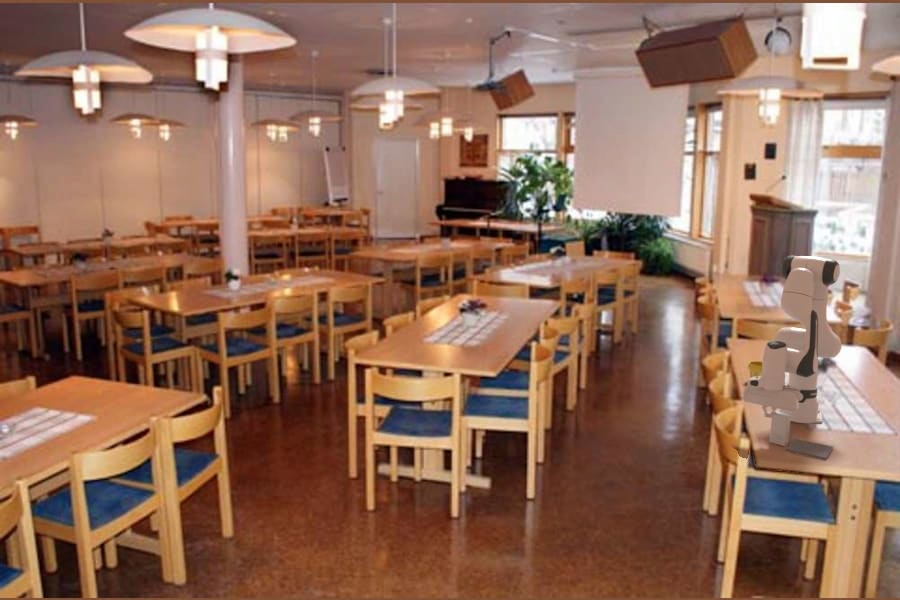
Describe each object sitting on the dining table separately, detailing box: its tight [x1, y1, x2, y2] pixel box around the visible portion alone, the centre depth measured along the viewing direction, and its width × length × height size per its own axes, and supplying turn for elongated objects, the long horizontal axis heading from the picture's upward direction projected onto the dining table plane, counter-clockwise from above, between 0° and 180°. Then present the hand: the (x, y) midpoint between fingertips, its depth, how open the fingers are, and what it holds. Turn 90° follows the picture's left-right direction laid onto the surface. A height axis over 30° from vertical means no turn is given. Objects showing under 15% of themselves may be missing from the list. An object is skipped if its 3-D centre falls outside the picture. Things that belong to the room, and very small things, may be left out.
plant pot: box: [747, 360, 763, 379], centre depth 386 cm, size 10×10×10 cm
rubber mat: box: [785, 437, 834, 461], centre depth 299 cm, size 14×14×1 cm
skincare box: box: [768, 410, 792, 447], centre depth 304 cm, size 6×4×12 cm
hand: (768, 417), depth 307 cm, fingers closed
